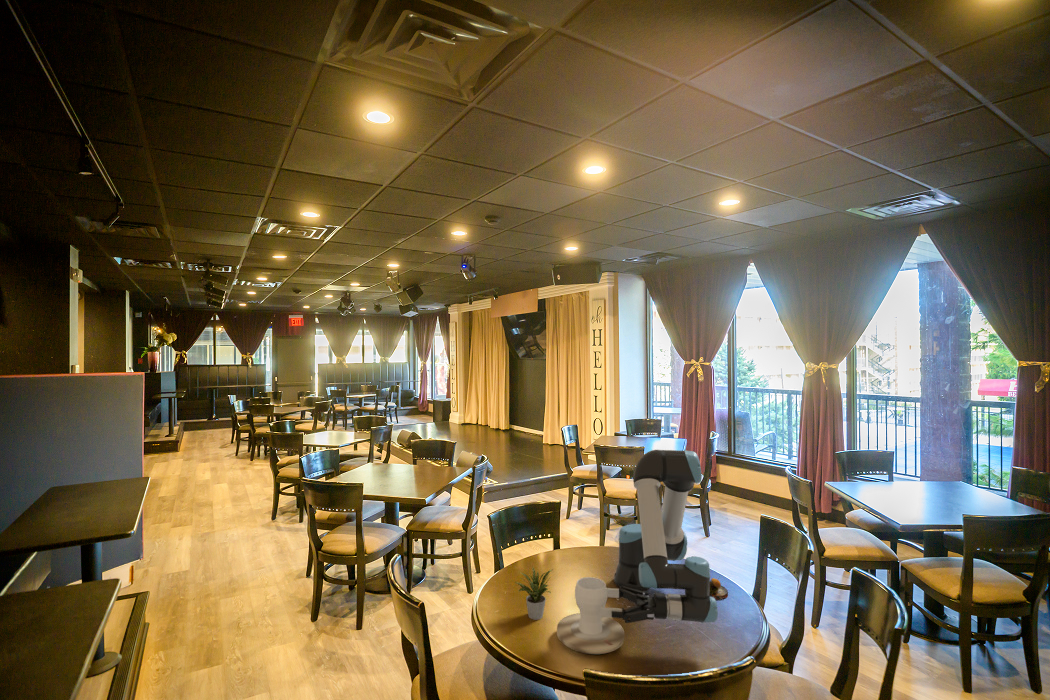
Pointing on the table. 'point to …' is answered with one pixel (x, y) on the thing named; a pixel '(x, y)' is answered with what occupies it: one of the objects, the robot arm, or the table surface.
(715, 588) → the plate of food
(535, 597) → the house plant
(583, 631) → the cup
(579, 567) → the table surface
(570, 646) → the turntable platter
